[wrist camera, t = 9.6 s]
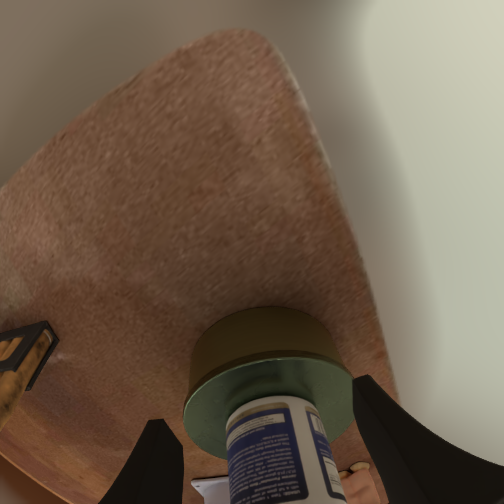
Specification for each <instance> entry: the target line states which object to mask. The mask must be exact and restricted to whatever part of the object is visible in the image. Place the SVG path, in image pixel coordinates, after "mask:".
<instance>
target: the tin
mask: <svg viewBox="0 0 504 504" xmlns="http://www.w3.org/2000/svg"><path fill="white" fill-rule="evenodd" d="M352 379H354V377H353V376H352V374H351V372H350V371H349V370H348V369H347V368H346V367H345V365H344V363H343V361H342V359H341V357H340V354H339V352H338V350H337V348H336V346H335V343H334V341H333V339H332V337H331V335H330V334H329V332H328V330H327V329H326V328H325V327H324V326H323V325H322V324H321V323H320V322H319V321H318V320H316V319H315V318H313V317H311V316H310V315H308V314H305V313H303V312H301V311H297V310H294V309H290V308H283V307H258V308H253V309H247V310H244V311H241V312H237V313H235V314H232V315H230V316H227V317H226V318H224V319H222V320H220V321H219V322H217V323H216V324H214V325H213V326H212V327H210V328H209V329H208V330H207V331H206V332H205V333H204V334H203V335H202V337H201V338H200V339H199V341H198V342H197V344H196V346H195V348H194V350H193V353H192V358H191V366H190V377H189V389H188V395H187V397H186V400H185V403H184V409H183V424H184V427H185V430H186V432H187V434H188V436H189V437H190V438H191V440H192V441H193V442H194V443H195V444H196V445H197V446H198V447H200V448H201V449H203V450H204V451H206V452H208V453H209V454H211V455H213V456H216V457H219V458H221V459H225V460H227V444H226V425H227V422H228V419H229V418H230V416H231V415H232V414H233V413H234V412H235V411H236V410H237V409H238V408H240V407H241V406H243V405H244V404H246V403H249V402H251V401H254V400H257V399H260V398H265V397H271V396H293V397H298V398H301V399H304V400H306V401H308V402H310V403H311V404H313V406H314V407H315V408H316V409H317V411H318V413H319V415H320V418H321V420H322V424H323V427H324V430H325V433H326V436H327V439H328V442H329V444H330V443H331V442H332V441H334V440H335V439H337V438H338V437H339V436H340V435H341V434H342V433H343V432H344V431H345V430H346V429H347V428H348V427H349V426H350V424H351V423H352V421H353V420H354V418H355V416H354V413H353V396H352Z"/></svg>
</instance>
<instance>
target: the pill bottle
mask: <svg viewBox="0 0 504 504" xmlns="http://www.w3.org/2000/svg"><path fill="white" fill-rule="evenodd" d="M226 444H227V460H228V476H229V491H230V504H347V501H346V498H345V495H344V491H343V488H342V485H341V482H340V478H339V475H338V472H337V468H336V465H335V462H334V459H333V455H332V452H331V449H330V446H329V442H328V439H327V436H326V433H325V430H324V427H323V424H322V420H321V418H320V415H319V413H318V411H317V409H316V408H315V407H314V406H313V404H311V403H310V402H308V401H306V400H304V399H301V398H298V397H293V396H271V397H265V398H260V399H257V400H254V401H251V402H249V403H246V404H244V405H243V406H241V407H240V408H238V409H237V410H236V411H235V412H234V413H233V414H232V415H231V416H230V418H229V419H228V422H227V425H226Z"/></svg>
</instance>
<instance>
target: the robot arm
mask: <svg viewBox="0 0 504 504" xmlns="http://www.w3.org/2000/svg"><path fill="white" fill-rule="evenodd" d="M352 396H353V413H354V416H355V420H356V423H357V426H358V429H359V431H360V434H361V436H362V438H363V441H364V443H365V445H366V447H367V449H368V451H369V453H370V456H371V458H372V460H373V462H374V464H375V466H376V468H377V470H378V473H379V475H380V477H381V479H382V482H383V484H384V487H385V490H386V494H387V497H388V500H389V503H390V504H504V466H501V465H498V464H495V463H492V462H489V461H486V460H484V459H481V458H479V457H476V456H474V455H472V454H470V453H468V452H466V451H464V450H462V449H460V448H458V447H456V446H454V445H452V444H451V443H449V442H447V441H445V440H444V439H442V438H441V437H439V436H438V435H436V434H434V433H433V432H432V431H430V430H429V429H427V428H426V427H425V426H423V425H422V424H421V423H419V422H418V421H417V420H416V419H414V418H413V417H412V416H411V415H409V414H408V413H407V412H406V411H405V410H404V409H403V408H402V407H400V406H399V405H398V404H397V403H396V402H395V401H394V400H393V399H392V398H391V397H390V396H389V395H388V394H387V393H386V392H385V391H384V390H383V389H382V388H381V387H380V386H379V385H378V384H377V383H376V382H375V381H374V379H373V378H372V377H371V376H370V375H368V374H367V375H364V376H361V377H358V378H355V379H352ZM183 477H184V458H183V446H182V444H181V443H180V442H179V440H178V439H177V438H176V436H175V435H174V433H173V432H172V431H171V429H170V428H169V426H168V425H167V424H166V422H165V421H164V419H155V420H149V421H148V422H147V424H146V426H145V428H144V430H143V432H142V434H141V436H140V438H139V440H138V442H137V443H136V445H135V447H134V449H133V451H132V453H131V455H130V456H129V458H128V460H127V462H126V463H125V465H124V467H123V469H122V470H121V472H120V473H119V475H118V477H117V478H116V480H115V481H114V483H113V484H112V486H111V487H110V489H109V490H108V491H107V493H106V494H105V495H104V497H103V498H102V499H101V501H100V502H99V503H98V504H182V493H183ZM191 485H192V486H193V487H194V488H195V489H196V490H197V491H198V492H199V493H200V494H201V495H202V496H203V497H204V504H230V491H229V476H228V477H220V478H210V479H200V480H192V481H191Z"/></svg>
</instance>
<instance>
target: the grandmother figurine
mask: <svg viewBox="0 0 504 504" xmlns="http://www.w3.org/2000/svg"><path fill="white" fill-rule="evenodd" d="M350 469H351V470H352V471H353V472H355V473H354V474H352V475H351V473H349V472H348V471H342V472H339V473H338V475H339V478H340V482H341V485H342V488H343V491H344V495H345V498H346V501H347V504H381V501H380V498H379V495H378V493H377V490H376V487H375V484H374V482H373V479H372V477H371V475H370V473H369V471H368V469H369V463H365V462H358V463H355V464H354V465H352V466H351V467H350ZM388 504H390V503H388Z"/></svg>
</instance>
